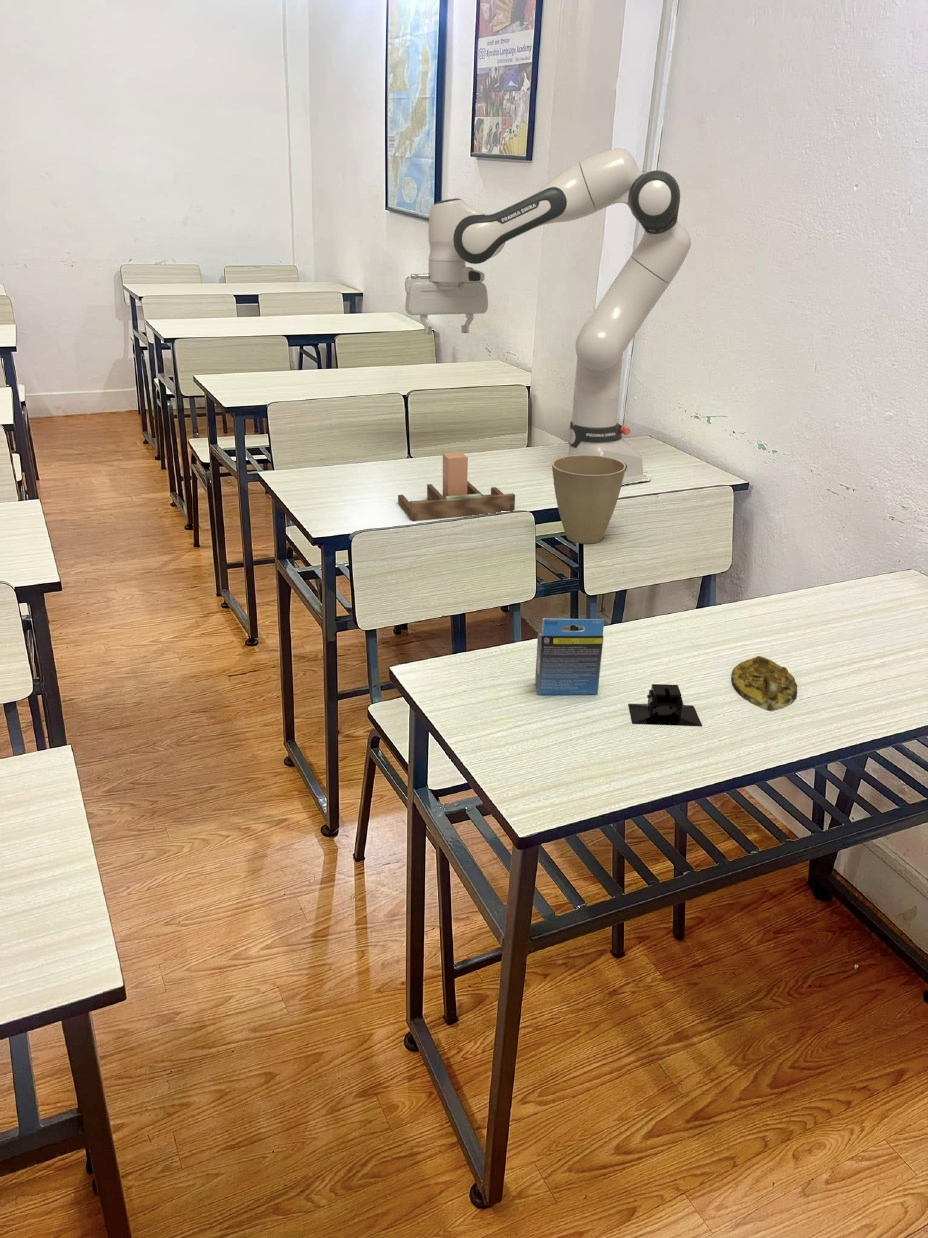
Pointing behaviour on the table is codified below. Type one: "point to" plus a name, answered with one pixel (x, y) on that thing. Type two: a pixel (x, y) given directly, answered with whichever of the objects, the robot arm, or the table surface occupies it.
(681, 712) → the black stand
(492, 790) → the table surface
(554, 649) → the label tape box
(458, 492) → the terracotta block
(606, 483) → the plant pot
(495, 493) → the box
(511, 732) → the table surface
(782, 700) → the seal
